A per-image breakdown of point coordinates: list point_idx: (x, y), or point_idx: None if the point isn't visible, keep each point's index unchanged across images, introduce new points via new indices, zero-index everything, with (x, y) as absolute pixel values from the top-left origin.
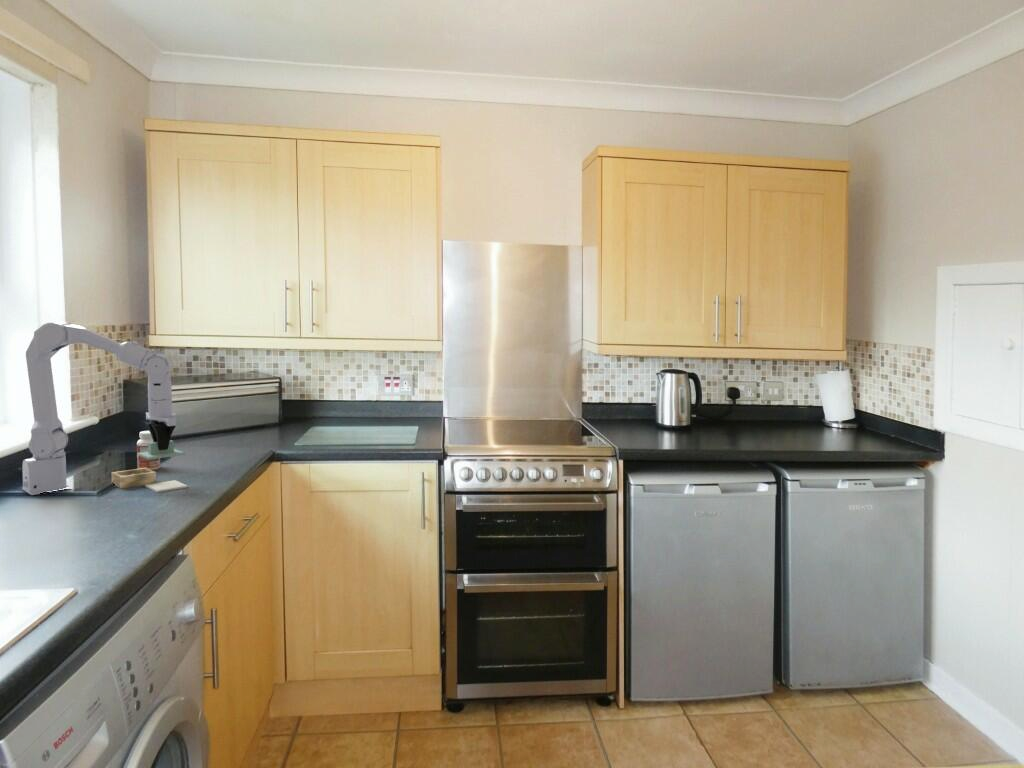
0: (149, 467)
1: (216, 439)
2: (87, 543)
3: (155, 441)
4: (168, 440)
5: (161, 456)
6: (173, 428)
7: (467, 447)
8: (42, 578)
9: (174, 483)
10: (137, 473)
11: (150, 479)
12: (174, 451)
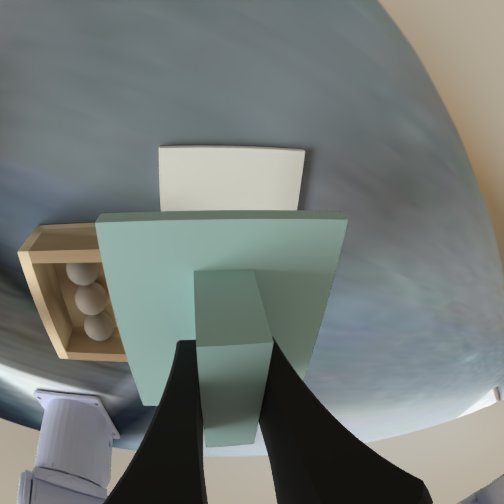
0: None
1: None
2: (441, 393)
3: (202, 427)
4: (302, 393)
5: (309, 350)
6: (402, 475)
7: None
8: (462, 407)
9: (223, 176)
10: (45, 276)
11: None
12: (247, 263)
